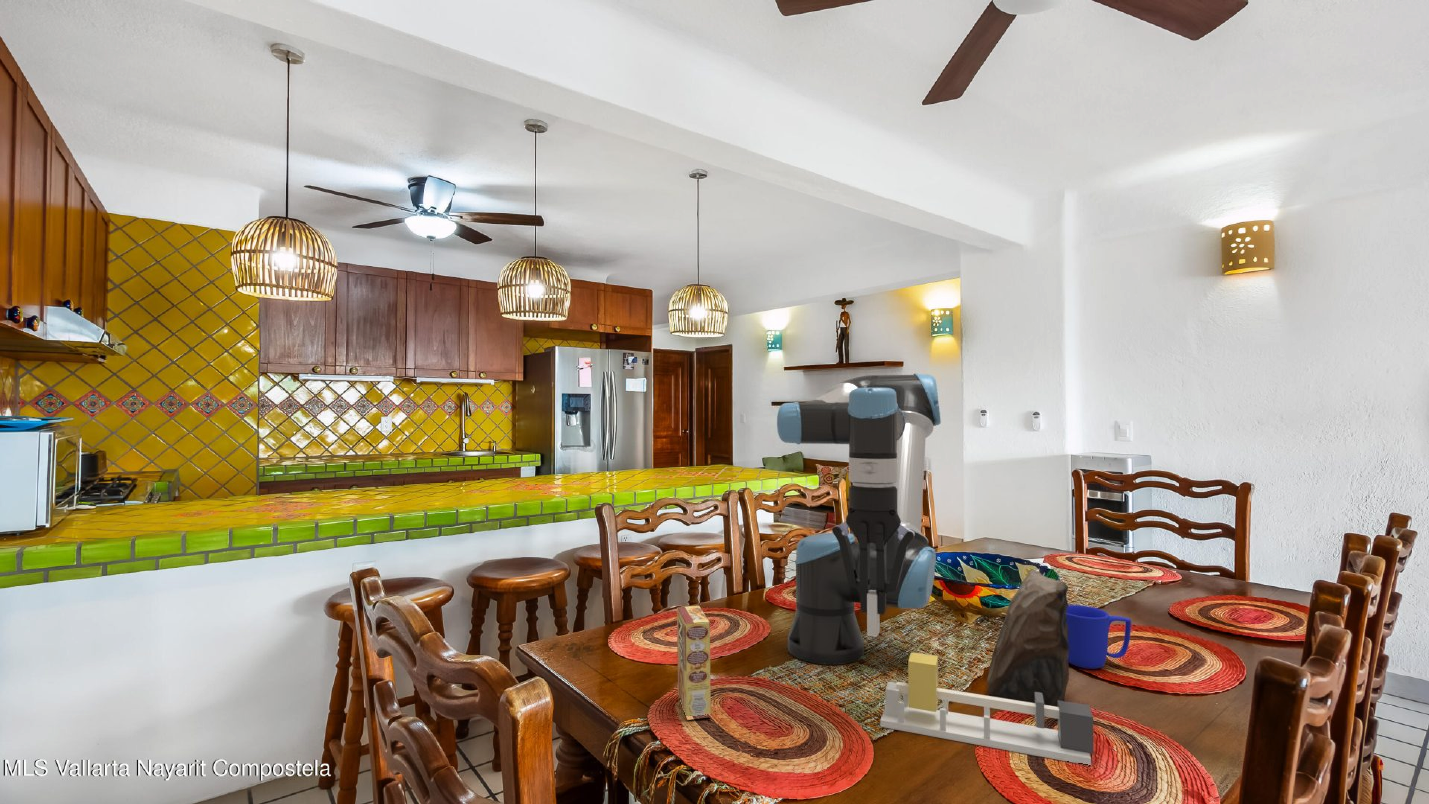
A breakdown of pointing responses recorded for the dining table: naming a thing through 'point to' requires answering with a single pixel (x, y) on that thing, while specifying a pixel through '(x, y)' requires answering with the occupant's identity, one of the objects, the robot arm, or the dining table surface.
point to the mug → (1092, 636)
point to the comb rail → (997, 723)
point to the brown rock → (1033, 644)
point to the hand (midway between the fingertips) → (873, 633)
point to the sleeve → (923, 681)
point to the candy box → (693, 660)
